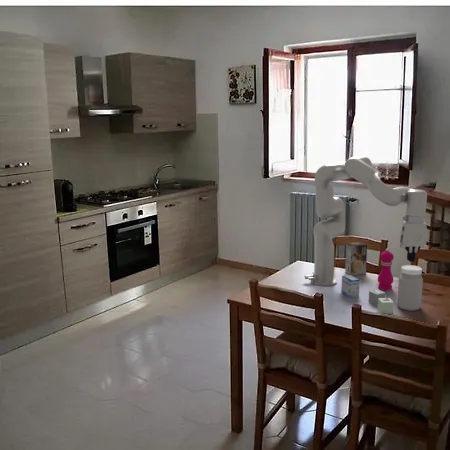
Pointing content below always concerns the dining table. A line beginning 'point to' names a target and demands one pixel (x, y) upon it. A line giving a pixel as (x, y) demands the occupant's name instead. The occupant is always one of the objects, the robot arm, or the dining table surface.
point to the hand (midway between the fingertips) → (410, 260)
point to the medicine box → (350, 286)
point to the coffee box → (356, 258)
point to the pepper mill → (386, 271)
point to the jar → (410, 288)
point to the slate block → (376, 296)
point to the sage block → (385, 305)
